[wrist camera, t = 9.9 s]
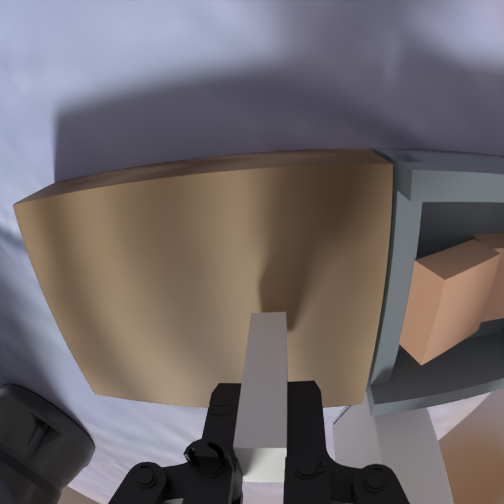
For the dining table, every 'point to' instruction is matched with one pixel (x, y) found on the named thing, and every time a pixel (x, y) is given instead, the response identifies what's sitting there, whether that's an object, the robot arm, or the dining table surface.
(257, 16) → the dining table surface
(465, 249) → the tile
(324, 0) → the dining table surface
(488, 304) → the tile
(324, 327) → the board
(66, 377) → the dining table surface
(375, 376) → the tray
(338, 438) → the milk
